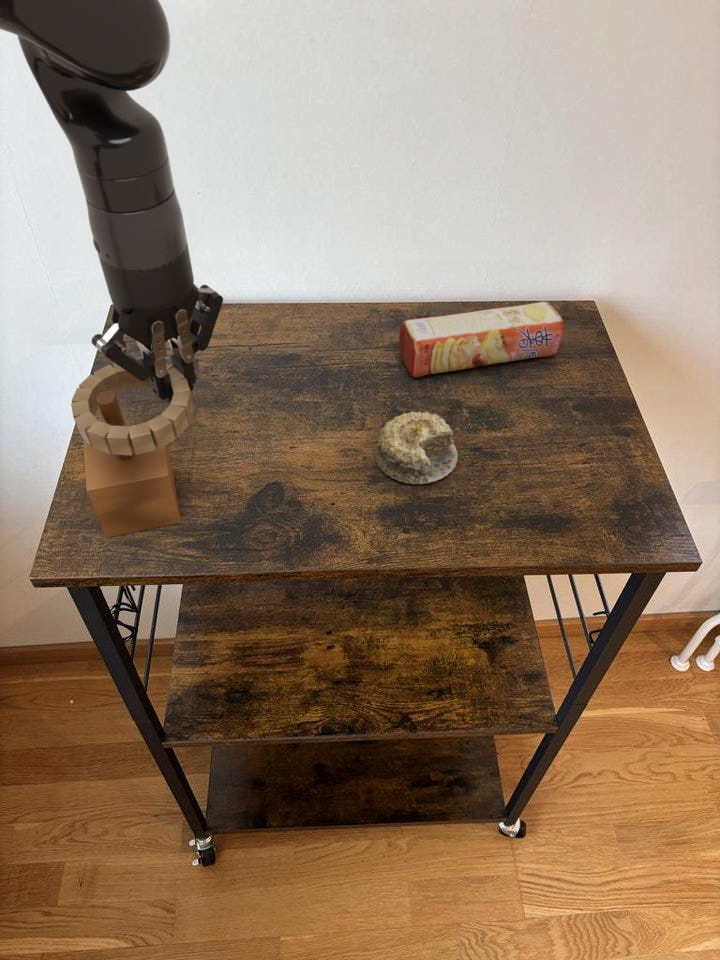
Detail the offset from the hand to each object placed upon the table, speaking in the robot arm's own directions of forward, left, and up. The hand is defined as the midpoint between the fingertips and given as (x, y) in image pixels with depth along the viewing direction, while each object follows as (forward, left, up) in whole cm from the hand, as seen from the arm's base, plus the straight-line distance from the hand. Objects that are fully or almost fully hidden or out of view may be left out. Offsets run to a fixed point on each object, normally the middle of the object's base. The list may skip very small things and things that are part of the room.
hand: (176, 391), depth 75 cm
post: (-6, -3, -12) cm, 14 cm away
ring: (-4, -2, 0) cm, 5 cm away
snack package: (+40, +11, -13) cm, 43 cm away
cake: (+26, -4, -13) cm, 29 cm away
